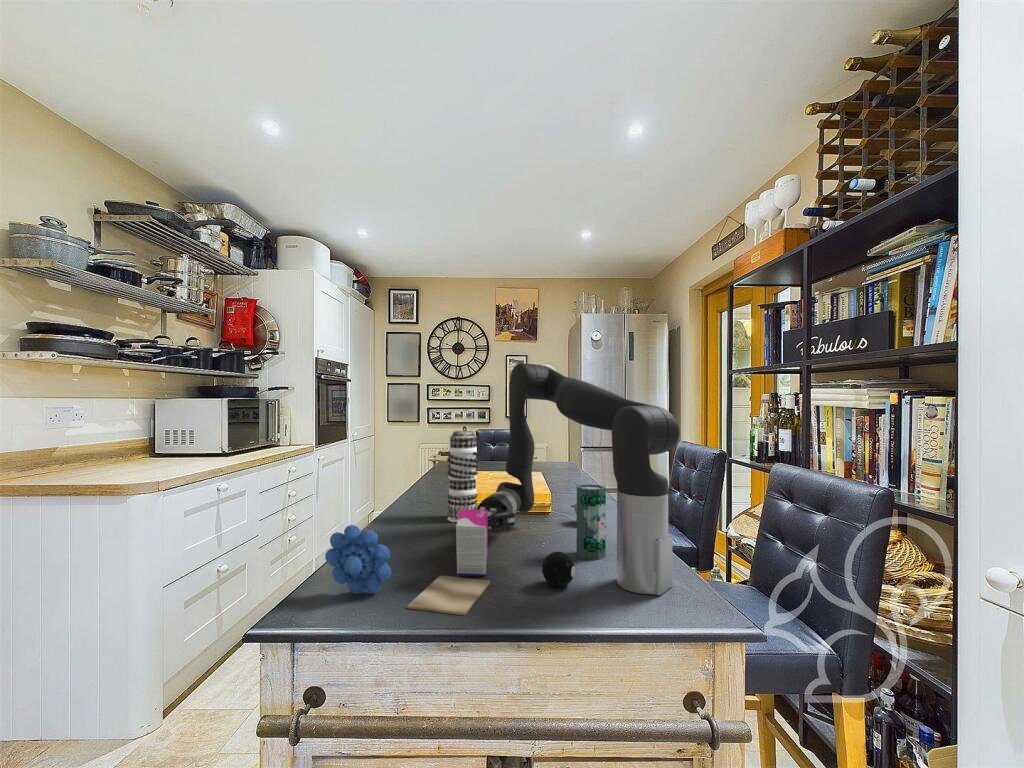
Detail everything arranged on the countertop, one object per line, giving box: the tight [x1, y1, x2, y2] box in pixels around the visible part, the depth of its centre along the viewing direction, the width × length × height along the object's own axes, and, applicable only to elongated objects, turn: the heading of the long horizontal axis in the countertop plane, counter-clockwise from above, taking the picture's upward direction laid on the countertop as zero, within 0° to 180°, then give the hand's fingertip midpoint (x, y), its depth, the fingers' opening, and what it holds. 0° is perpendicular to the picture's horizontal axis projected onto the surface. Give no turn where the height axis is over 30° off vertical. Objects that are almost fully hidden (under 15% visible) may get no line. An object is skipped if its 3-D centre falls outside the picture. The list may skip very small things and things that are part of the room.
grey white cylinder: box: [446, 430, 480, 523], centre depth 138 cm, size 9×9×25 cm
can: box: [575, 483, 607, 561], centre depth 107 cm, size 6×6×15 cm
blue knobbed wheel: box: [324, 524, 392, 596], centre depth 83 cm, size 12×7×12 cm, turn 89°
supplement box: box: [455, 509, 489, 577], centre depth 94 cm, size 6×6×12 cm
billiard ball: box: [541, 551, 576, 587], centre depth 89 cm, size 6×6×6 cm
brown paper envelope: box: [406, 575, 491, 616], centre depth 84 cm, size 14×10×1 cm
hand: (474, 527), depth 97 cm, fingers closed
